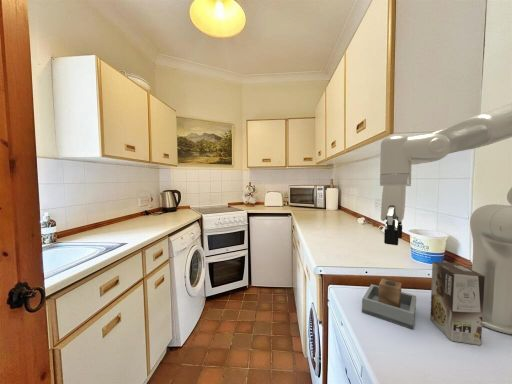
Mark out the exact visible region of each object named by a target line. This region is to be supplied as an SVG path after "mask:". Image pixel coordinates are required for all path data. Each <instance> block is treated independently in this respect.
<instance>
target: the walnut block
mask: <svg viewBox="0 0 512 384" xmlns="http://www.w3.org/2000/svg"><path fill="white" fill-rule="evenodd" d="M378 286H379V294H378V302H381V303H384V304H388V305H391V306H394V307H398V308H400V307H401V292H402V286H403V284H402V282H398V281H394V280H390V279H387V278H381V280H380V282H379V283H378Z"/></svg>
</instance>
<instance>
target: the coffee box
mask: <svg viewBox="0 0 512 384" xmlns="http://www.w3.org/2000/svg"><path fill="white" fill-rule="evenodd" d="M431 263H432V267H431V271H432V272H431V290H430V291H431V293H430V294H431V295H430V297H431V298H430V318H429V319H430V321H432V323H433V324H434V325H435V326H436V327H437V328H438V329H440V330H439V331H440V332H442V333H443V334H444V335H445V336H446V337H447V338H448V339H449V340H450V341H451V342H458V343H464V344H471V345H477V346H481V345H482V335H483V333H482V331H483V326H482V316H483V300H484V282H485V276H483V275H481V274H479V273H477V272H475V271H473V270H472V268H469V267H467V266H465V265H462V264H460V263H455V262H439V261H438V262H437V261H432V262H431Z"/></svg>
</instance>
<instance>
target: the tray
mask: <svg viewBox="0 0 512 384" xmlns="http://www.w3.org/2000/svg"><path fill="white" fill-rule="evenodd" d="M378 294H379V285H377V284H372V283H371V284H370V286H369V287H368V288H367V290H366V292H365V293H364V295H363V296H362V301H361V313H362V314H366V315H370V316H372V317H375V318H378V319H380V320H383V321H386V322H390V323H392V324H394V325H395V324H396V325H398V326H401V327H404V328H406V329H409V330H412V331H414V325H415V317H416V311H415V310H416V309H417V295H414V294H410V293H406V292H403V291H401V307H400V308H398V307H394V306H391V305H388V304H384V303H381V302H378Z"/></svg>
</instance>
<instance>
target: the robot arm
mask: <svg viewBox="0 0 512 384" xmlns="http://www.w3.org/2000/svg"><path fill="white" fill-rule="evenodd" d="M510 138H512V103H509V104H506V105H503V106H500V107H498V108H497V107H496V108H495V109H492V110H488V111H486V112H482V113H479V114H477V115H476V114H475V115H474V116H471V117H469V118H466V119H463V120H461V121H459V122H457V123H454V124H452V125H450V126H447V127H445V128H442V129H439V130H437V131H433V132H431V133H426V134H425V133H424V134H417V135H411V136H410V135H409V136H407V135H392V136H388V137H385V138H383V139H381V142H380V153H379V154H380V159H379V161H380V163H379V186H380V187H382V192H381V193H382V194H381V205H380V207H381V208H380V221H382V222H385V224H384V225H385V226H384V233H383V234H384V235H383V237H384V238H383V243H384V244H385V245H392V246H398V245H399V239H402V237H403V224H402V223H403V220H404V217H405V209H406V193H407V192H406V187H411V186H412V165H420V164H428V163H433V162H437V161H440V160H442V159H444V158H445V157H447V156H448V155H450V154H453V153H457V152H464V151H467V150H474V149H479V148H481V147H485V146H486V147H487V146H489V145H492V144H496V143H498V142H501V141H504V140H508V139H510ZM506 200H507V202H508V204H510V205H508V204H497V203H496V204H486V205H482V206H480V207H477V208H476V209H474V211H473V212H472V213H471V215H470V219H469V227H470V232H471V237H472V264H471V265H472V266H471V270H473V271H475V272H477V273H479V274H481V275H483V276H485V282H484V300H483V316H482V327H485V328H488V329H490V330H493V331H496V332H500V333H504V334H508V335H512V187H511V188H510V189H509V190H508V192H507V193H506Z"/></svg>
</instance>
